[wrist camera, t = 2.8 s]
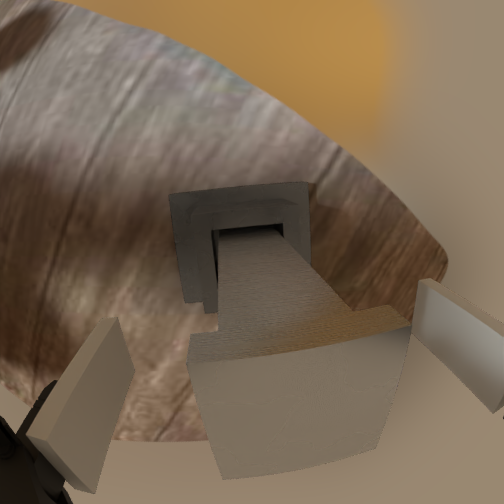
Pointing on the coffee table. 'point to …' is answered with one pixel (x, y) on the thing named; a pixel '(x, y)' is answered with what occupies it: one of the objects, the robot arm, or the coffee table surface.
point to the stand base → (232, 216)
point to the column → (290, 362)
